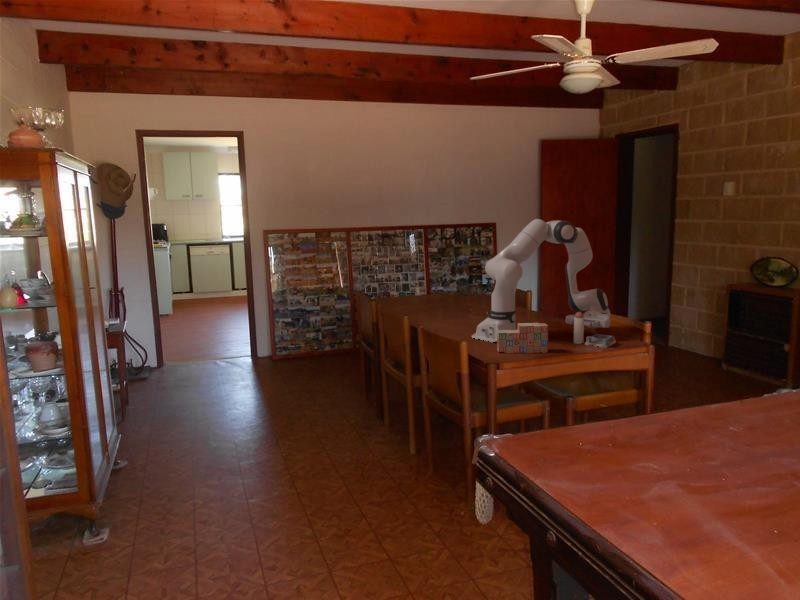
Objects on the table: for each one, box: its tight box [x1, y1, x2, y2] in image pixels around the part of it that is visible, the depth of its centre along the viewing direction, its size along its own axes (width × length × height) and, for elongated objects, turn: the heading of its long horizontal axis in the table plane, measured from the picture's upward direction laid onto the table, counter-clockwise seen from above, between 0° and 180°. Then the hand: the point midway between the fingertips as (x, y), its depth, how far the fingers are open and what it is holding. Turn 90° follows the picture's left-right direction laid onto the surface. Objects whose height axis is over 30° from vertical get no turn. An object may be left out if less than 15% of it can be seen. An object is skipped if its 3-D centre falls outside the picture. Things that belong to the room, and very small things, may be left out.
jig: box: [584, 333, 617, 349], centre depth 272 cm, size 10×12×4 cm
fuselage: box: [573, 311, 585, 345], centre depth 274 cm, size 4×4×14 cm
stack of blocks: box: [496, 322, 549, 354], centre depth 261 cm, size 21×6×12 cm, turn 87°
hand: (581, 323), depth 277 cm, fingers open, 8 cm apart
